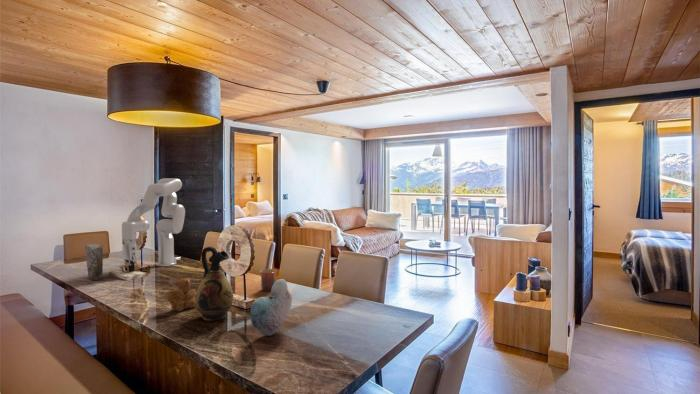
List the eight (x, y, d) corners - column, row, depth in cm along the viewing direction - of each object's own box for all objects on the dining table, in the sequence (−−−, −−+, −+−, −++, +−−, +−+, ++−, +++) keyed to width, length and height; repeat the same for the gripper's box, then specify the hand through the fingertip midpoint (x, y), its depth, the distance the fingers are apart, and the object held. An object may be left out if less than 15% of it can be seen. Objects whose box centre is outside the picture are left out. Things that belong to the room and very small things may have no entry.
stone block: (84, 278, 216) (83, 244, 215) (97, 275, 221) (97, 243, 220) (92, 281, 208) (92, 247, 207) (106, 279, 213) (105, 245, 213)
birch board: (127, 271, 232) (127, 268, 232) (146, 276, 220) (146, 272, 220) (109, 275, 222) (108, 271, 222) (126, 280, 211) (126, 276, 210)
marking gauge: (135, 267, 228) (132, 259, 226) (138, 268, 226) (136, 259, 224) (120, 274, 221) (117, 265, 219) (123, 275, 218) (121, 265, 217)
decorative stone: (262, 347, 125) (261, 290, 125) (243, 341, 130) (242, 287, 129) (298, 326, 144) (298, 277, 143) (280, 322, 148) (280, 274, 147)
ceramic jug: (240, 311, 160) (239, 244, 159) (220, 325, 145) (219, 251, 144) (206, 308, 164) (205, 243, 162) (183, 321, 149) (182, 249, 147)
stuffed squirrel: (202, 304, 170) (201, 276, 169) (181, 314, 156) (181, 284, 156) (183, 302, 172) (183, 275, 172) (162, 312, 159) (161, 283, 158)
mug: (272, 292, 188) (272, 273, 187) (256, 291, 189) (256, 272, 189) (281, 286, 199) (281, 267, 199) (266, 285, 201) (266, 267, 201)
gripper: (142, 241, 221) (143, 271, 222) (128, 239, 230) (129, 267, 231) (129, 243, 215) (130, 274, 215) (116, 241, 224) (116, 270, 225)
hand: (129, 270), depth 223 cm, fingers closed on marking gauge, 4 cm apart
